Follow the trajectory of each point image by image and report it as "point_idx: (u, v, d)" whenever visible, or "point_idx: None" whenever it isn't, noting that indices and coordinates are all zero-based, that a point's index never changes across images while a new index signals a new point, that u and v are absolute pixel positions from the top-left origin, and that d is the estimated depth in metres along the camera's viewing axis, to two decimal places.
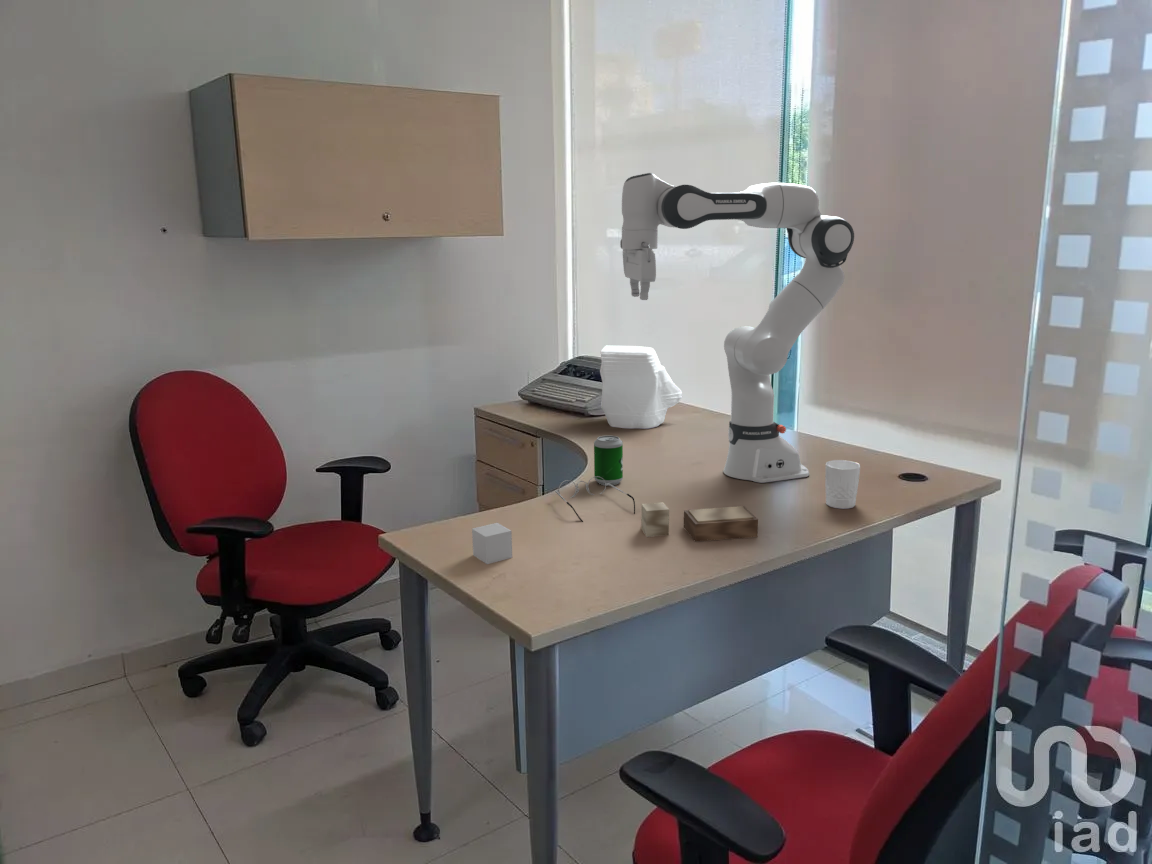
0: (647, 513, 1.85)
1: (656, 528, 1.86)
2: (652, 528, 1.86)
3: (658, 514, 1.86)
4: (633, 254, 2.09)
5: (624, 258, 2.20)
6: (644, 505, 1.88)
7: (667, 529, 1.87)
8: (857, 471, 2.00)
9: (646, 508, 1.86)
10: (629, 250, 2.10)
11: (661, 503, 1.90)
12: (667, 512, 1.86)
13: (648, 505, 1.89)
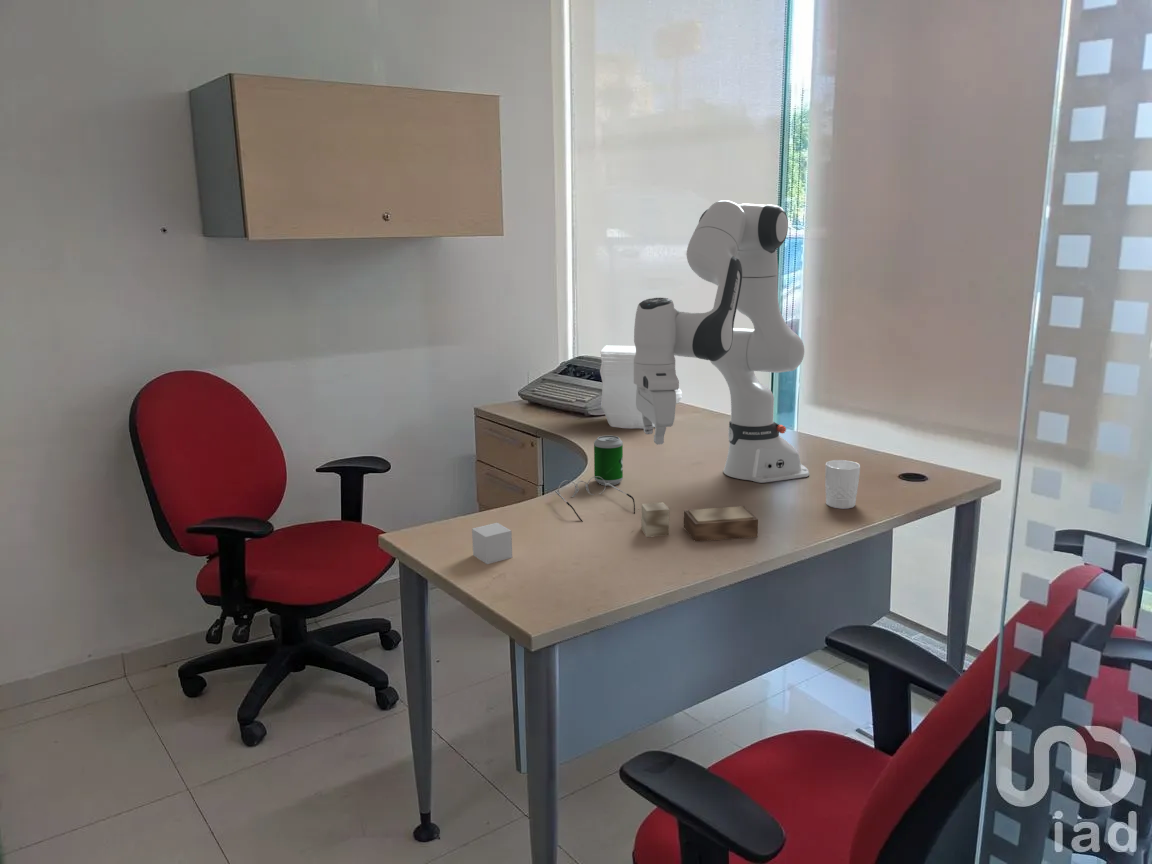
0: (647, 513, 1.85)
1: (656, 528, 1.86)
2: (652, 528, 1.86)
3: (658, 514, 1.86)
4: None
5: None
6: (644, 505, 1.88)
7: (667, 529, 1.87)
8: (857, 471, 2.00)
9: (646, 508, 1.86)
10: None
11: (661, 503, 1.90)
12: (667, 512, 1.86)
13: (648, 505, 1.89)
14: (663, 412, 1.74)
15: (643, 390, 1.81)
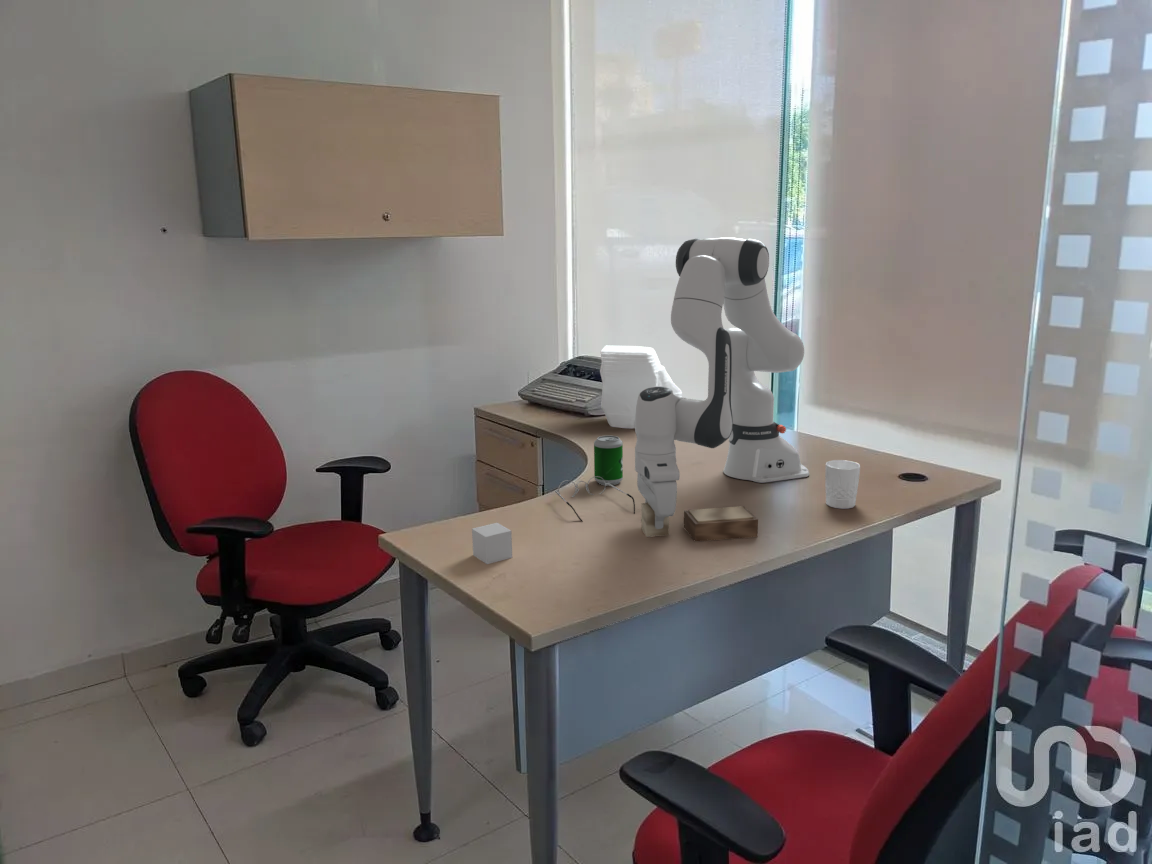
0: (647, 513, 1.85)
1: None
2: (652, 528, 1.86)
3: None
4: None
5: None
6: (644, 505, 1.88)
7: (667, 529, 1.87)
8: (857, 471, 2.00)
9: (646, 508, 1.86)
10: None
11: None
12: None
13: (648, 504, 1.89)
14: (664, 503, 1.77)
15: (644, 478, 1.84)
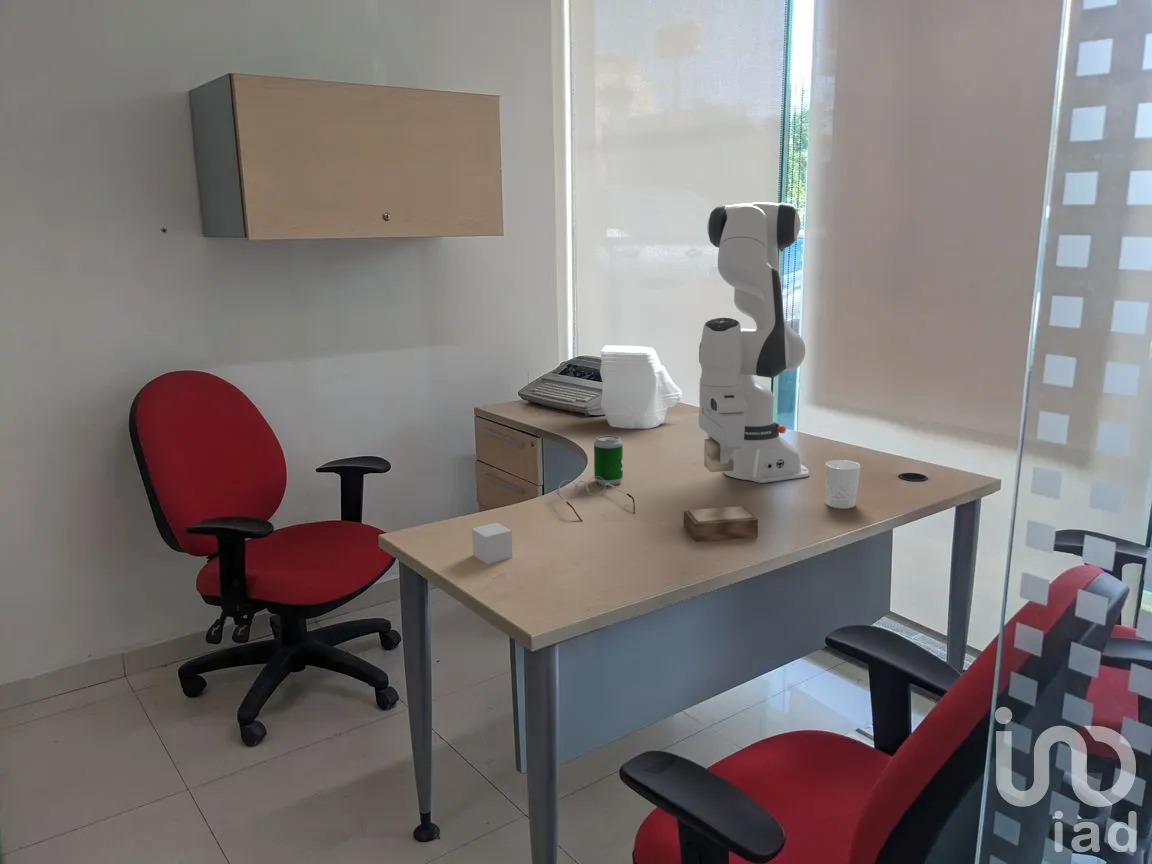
0: (712, 447, 1.81)
1: None
2: (716, 463, 1.82)
3: None
4: None
5: None
6: (708, 440, 1.84)
7: (732, 464, 1.83)
8: (857, 471, 2.00)
9: (710, 443, 1.82)
10: None
11: None
12: None
13: (711, 440, 1.85)
14: (732, 435, 1.73)
15: (709, 411, 1.80)
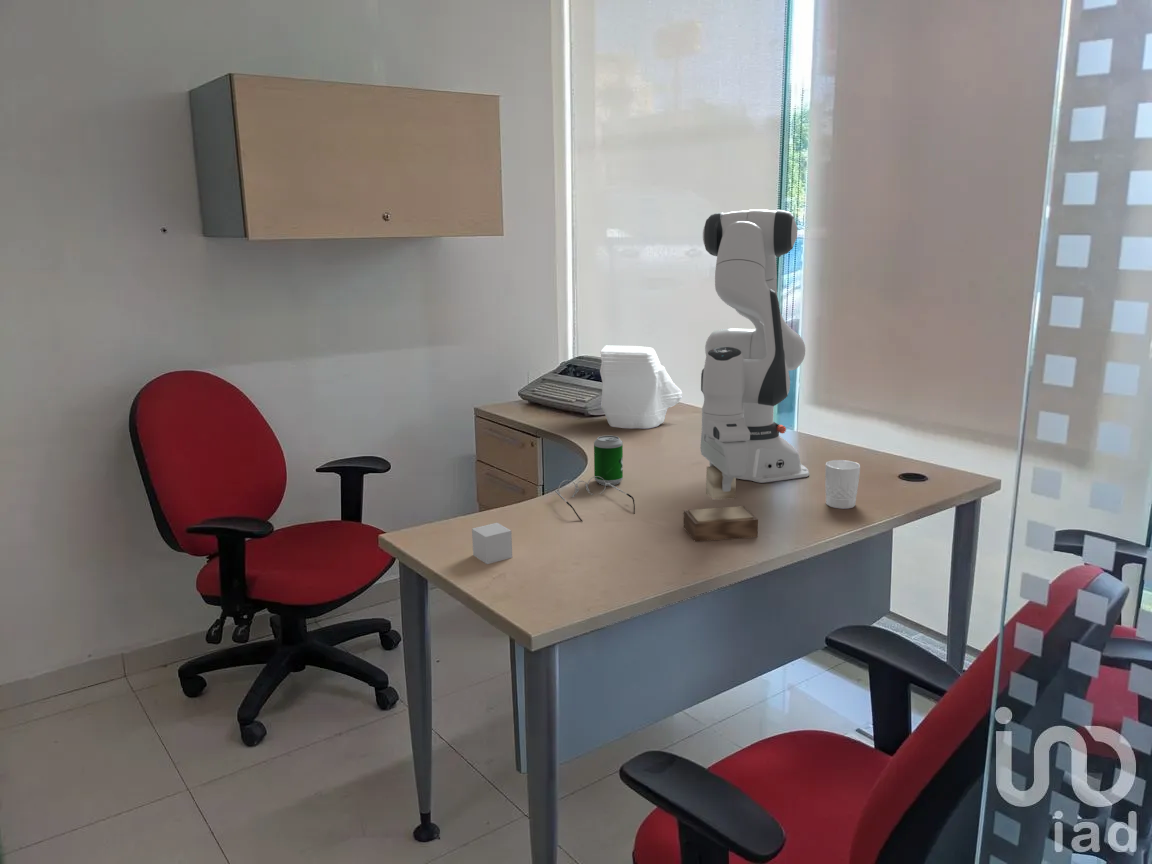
0: (714, 475, 1.82)
1: (723, 491, 1.83)
2: (718, 490, 1.83)
3: None
4: None
5: None
6: (710, 468, 1.85)
7: (734, 492, 1.84)
8: (857, 471, 2.00)
9: (713, 470, 1.83)
10: None
11: None
12: None
13: (713, 467, 1.86)
14: (734, 463, 1.74)
15: (712, 439, 1.81)
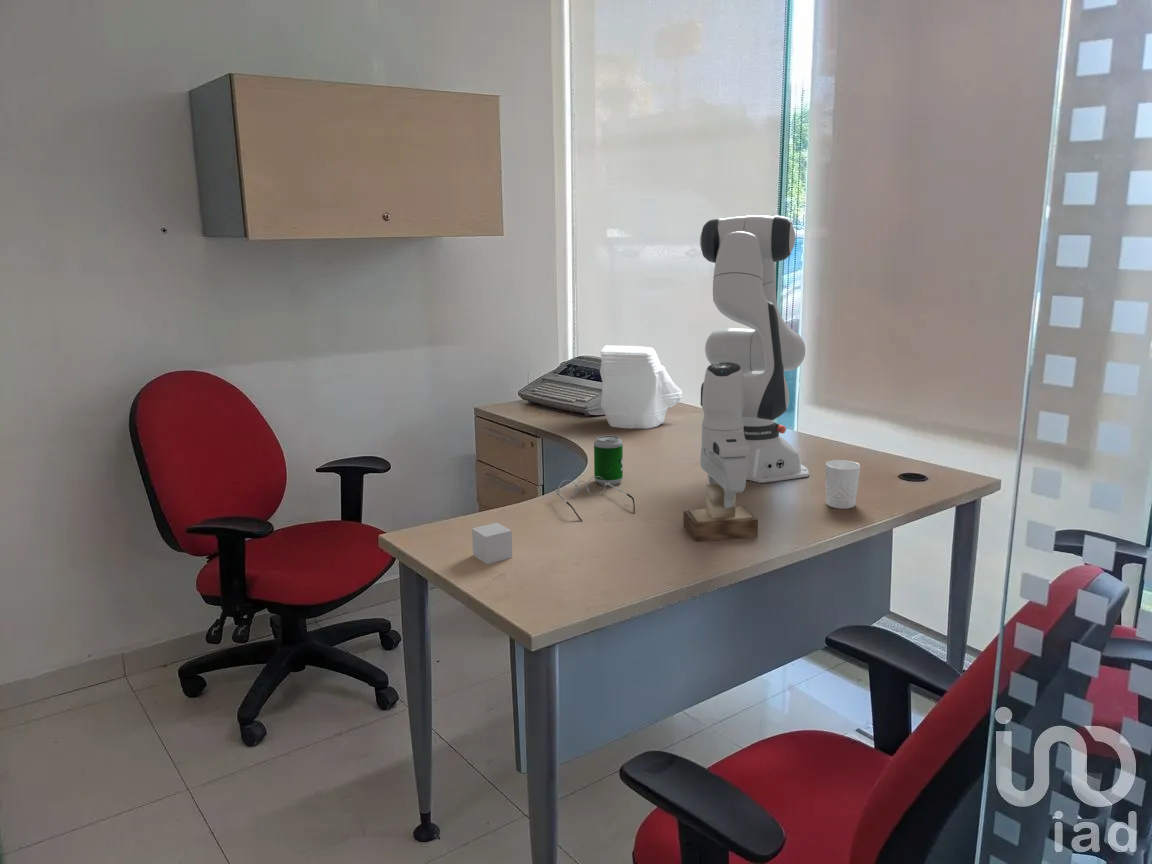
0: (714, 494, 1.83)
1: (723, 509, 1.84)
2: (718, 509, 1.84)
3: None
4: None
5: None
6: (710, 486, 1.87)
7: (733, 510, 1.85)
8: (857, 471, 2.00)
9: (712, 489, 1.85)
10: None
11: None
12: None
13: (713, 486, 1.87)
14: (734, 479, 1.75)
15: (712, 454, 1.82)
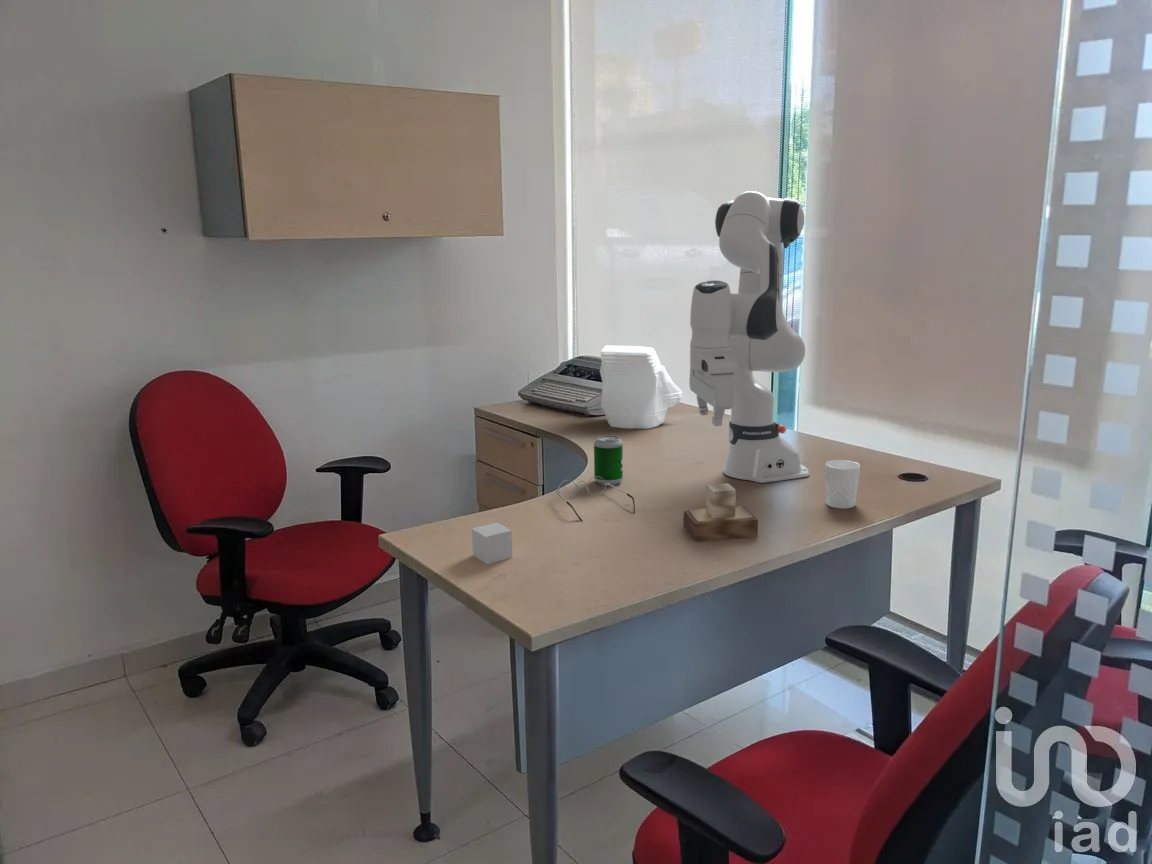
0: (714, 494, 1.83)
1: (723, 509, 1.84)
2: (718, 509, 1.84)
3: (725, 495, 1.84)
4: None
5: None
6: (710, 486, 1.87)
7: (733, 510, 1.85)
8: (857, 471, 2.00)
9: (712, 489, 1.85)
10: None
11: (726, 484, 1.88)
12: (734, 493, 1.84)
13: (713, 486, 1.87)
14: (723, 395, 1.76)
15: (700, 373, 1.83)
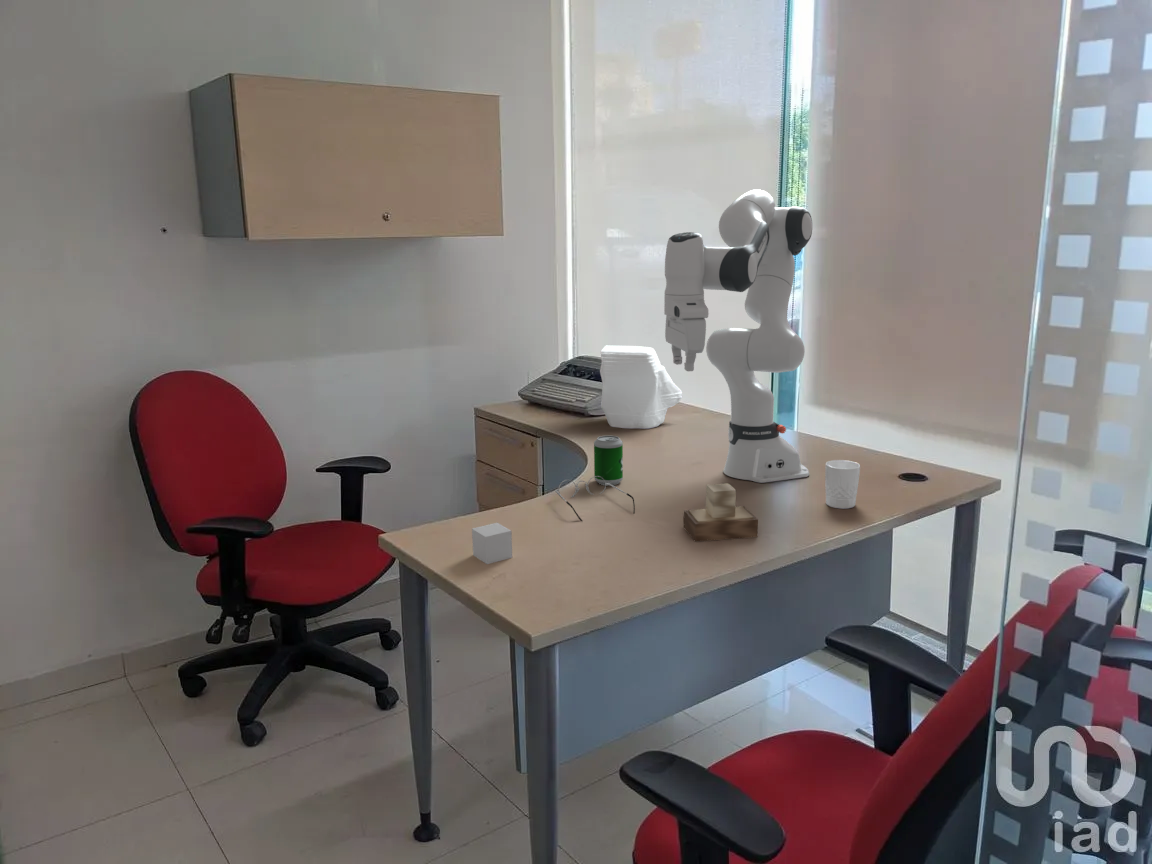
0: (714, 494, 1.83)
1: (723, 509, 1.84)
2: (718, 509, 1.84)
3: (725, 495, 1.84)
4: None
5: None
6: (710, 486, 1.87)
7: (733, 510, 1.85)
8: (857, 471, 2.00)
9: (712, 489, 1.85)
10: None
11: (726, 484, 1.88)
12: (734, 493, 1.84)
13: (713, 486, 1.87)
14: (693, 339, 1.84)
15: (674, 320, 1.91)
